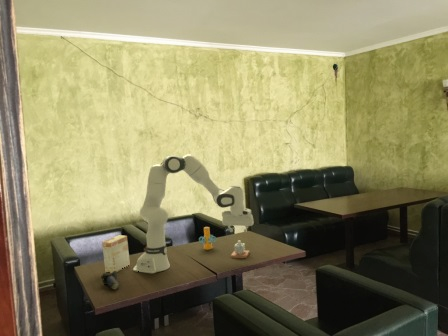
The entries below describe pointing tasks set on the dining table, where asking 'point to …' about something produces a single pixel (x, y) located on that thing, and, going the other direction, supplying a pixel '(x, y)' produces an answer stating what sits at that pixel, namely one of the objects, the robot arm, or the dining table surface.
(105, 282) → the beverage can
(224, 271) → the dining table surface
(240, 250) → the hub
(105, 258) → the coffeecake box
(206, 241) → the orange vase with loops
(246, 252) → the shaft block
